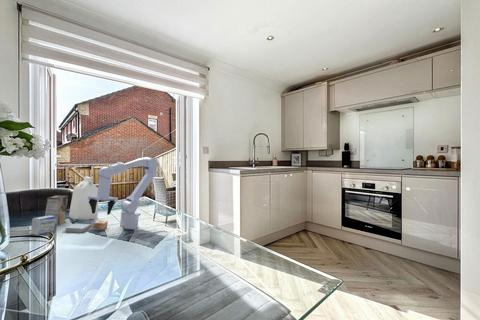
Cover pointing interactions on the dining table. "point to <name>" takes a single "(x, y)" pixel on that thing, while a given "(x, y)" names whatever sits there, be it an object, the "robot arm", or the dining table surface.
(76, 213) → the milk
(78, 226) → the top block
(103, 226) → the terracotta cube
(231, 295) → the dining table surface
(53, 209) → the coffee box
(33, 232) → the medicine box
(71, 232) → the bottom block
